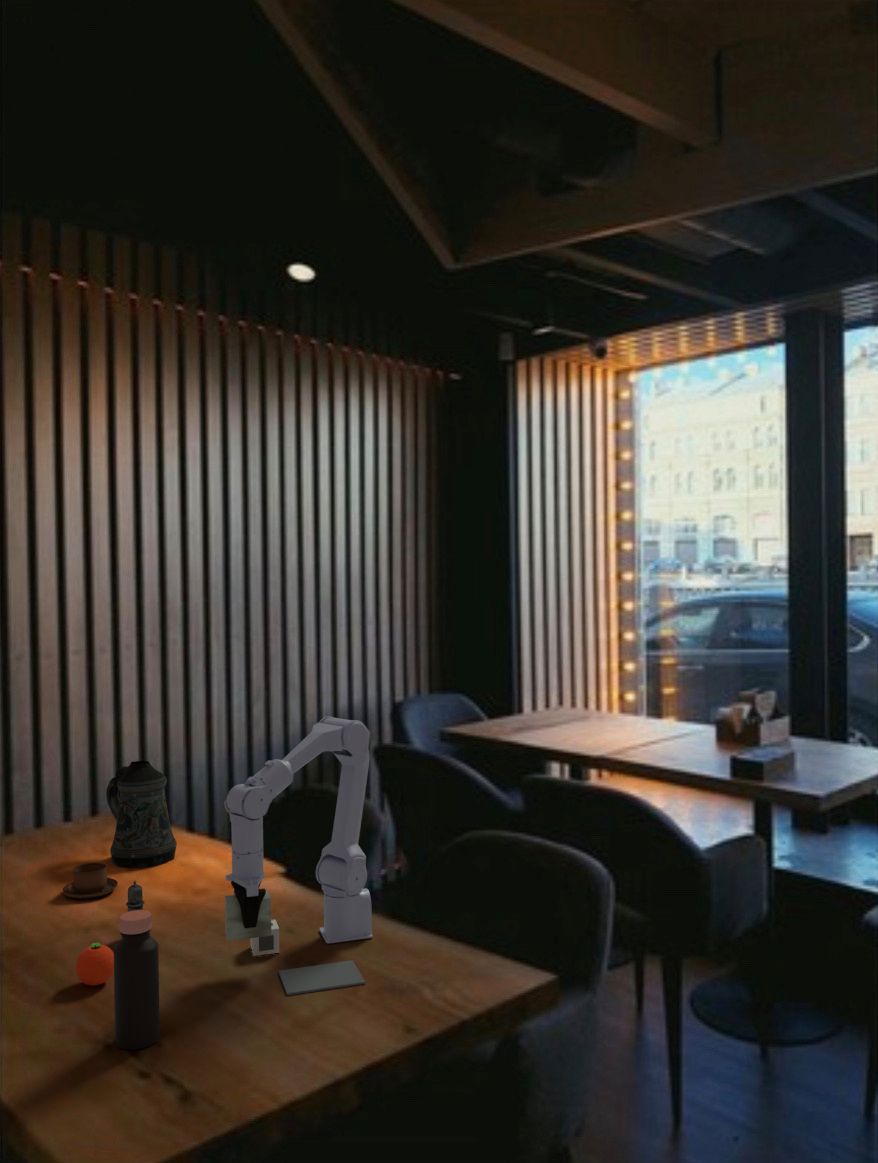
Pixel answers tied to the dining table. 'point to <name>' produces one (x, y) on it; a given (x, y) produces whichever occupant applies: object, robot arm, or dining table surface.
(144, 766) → the beer stein
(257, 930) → the pale green block
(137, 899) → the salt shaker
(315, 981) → the slate mat
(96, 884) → the cup and saucer
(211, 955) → the dining table surface
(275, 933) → the marked cube
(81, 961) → the clementine
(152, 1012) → the bottle
